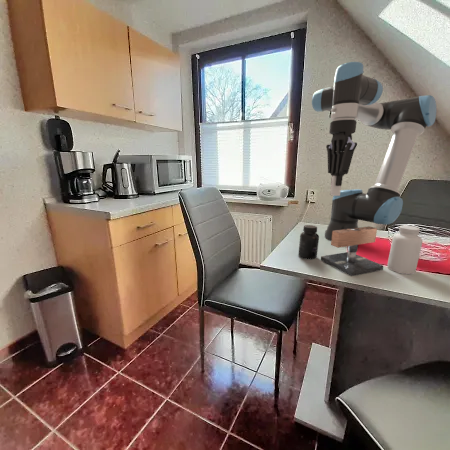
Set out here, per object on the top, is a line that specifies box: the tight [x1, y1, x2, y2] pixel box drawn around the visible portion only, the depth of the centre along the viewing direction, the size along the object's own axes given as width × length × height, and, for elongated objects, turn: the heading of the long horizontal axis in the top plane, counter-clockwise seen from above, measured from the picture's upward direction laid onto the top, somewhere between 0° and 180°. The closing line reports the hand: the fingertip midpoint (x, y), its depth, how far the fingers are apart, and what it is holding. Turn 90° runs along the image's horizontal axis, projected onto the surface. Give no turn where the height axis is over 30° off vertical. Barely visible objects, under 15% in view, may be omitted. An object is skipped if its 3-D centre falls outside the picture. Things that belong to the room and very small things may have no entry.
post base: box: [320, 250, 384, 277], centre depth 87 cm, size 14×14×5 cm
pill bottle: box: [386, 224, 423, 275], centre depth 82 cm, size 8×8×15 cm
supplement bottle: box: [298, 224, 320, 260], centre depth 93 cm, size 7×7×12 cm
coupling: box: [330, 225, 378, 253], centre depth 85 cm, size 3×17×8 cm, turn 111°
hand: (334, 195), depth 83 cm, fingers closed
